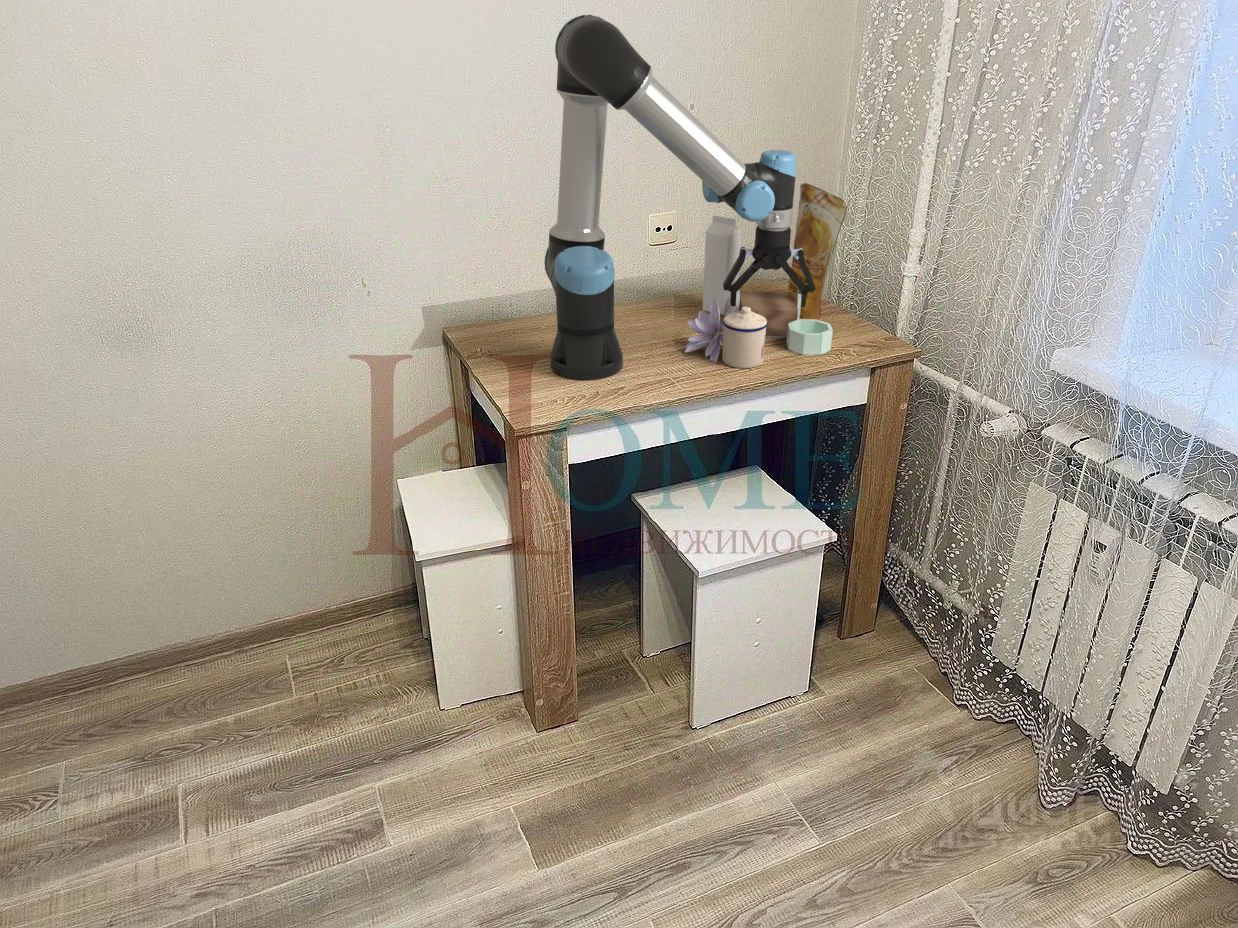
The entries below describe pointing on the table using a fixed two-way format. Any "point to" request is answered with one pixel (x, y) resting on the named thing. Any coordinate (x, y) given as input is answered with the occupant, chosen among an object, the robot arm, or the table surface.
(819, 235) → the pancake mix bag
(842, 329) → the table surface
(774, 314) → the brown wooden block
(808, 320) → the bowl
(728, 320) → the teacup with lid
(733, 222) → the milk
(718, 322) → the water lily
